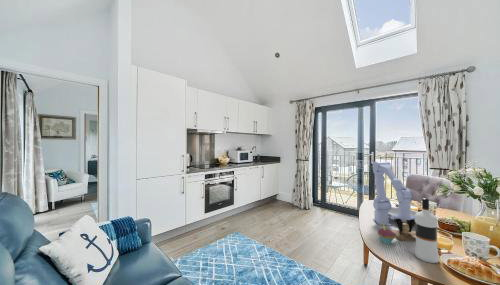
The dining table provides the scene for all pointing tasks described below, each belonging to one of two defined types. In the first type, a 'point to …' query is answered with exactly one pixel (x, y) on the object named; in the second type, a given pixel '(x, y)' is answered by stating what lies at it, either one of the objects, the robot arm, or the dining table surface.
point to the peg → (405, 229)
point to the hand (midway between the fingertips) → (404, 231)
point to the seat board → (408, 238)
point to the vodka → (426, 234)
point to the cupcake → (386, 235)
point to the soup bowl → (396, 212)
